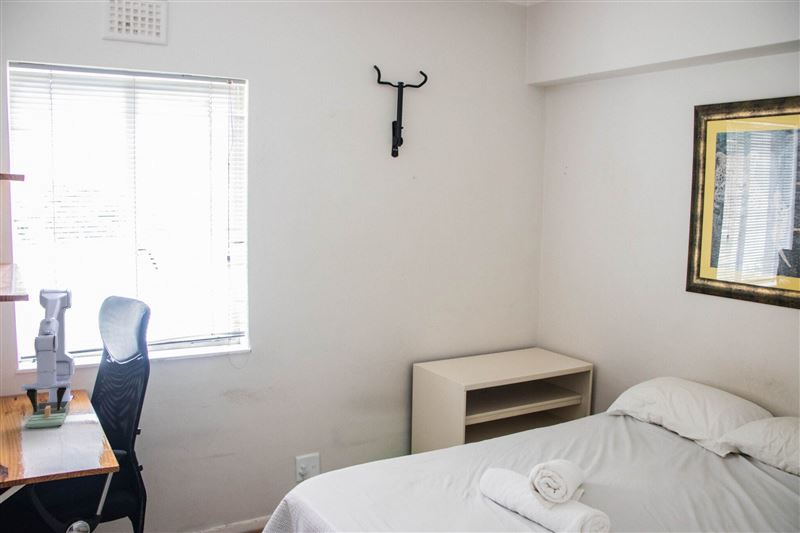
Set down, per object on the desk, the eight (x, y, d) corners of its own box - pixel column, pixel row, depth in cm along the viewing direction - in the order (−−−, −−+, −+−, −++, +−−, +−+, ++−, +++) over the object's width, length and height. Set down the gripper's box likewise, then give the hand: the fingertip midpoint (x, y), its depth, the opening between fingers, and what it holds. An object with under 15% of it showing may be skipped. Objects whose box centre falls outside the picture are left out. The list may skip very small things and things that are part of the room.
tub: (38, 411, 233) (38, 402, 232) (69, 409, 236) (69, 400, 236) (32, 419, 223) (32, 410, 223) (65, 417, 227) (65, 408, 226)
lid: (31, 420, 222) (31, 406, 222) (66, 418, 226) (65, 404, 226) (25, 429, 213) (25, 414, 212) (61, 426, 216) (61, 412, 216)
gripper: (19, 374, 213) (20, 415, 214) (69, 371, 218) (69, 412, 219) (23, 369, 220) (24, 409, 221) (71, 367, 225) (72, 406, 226)
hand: (47, 410), depth 220 cm, fingers open, 6 cm apart
